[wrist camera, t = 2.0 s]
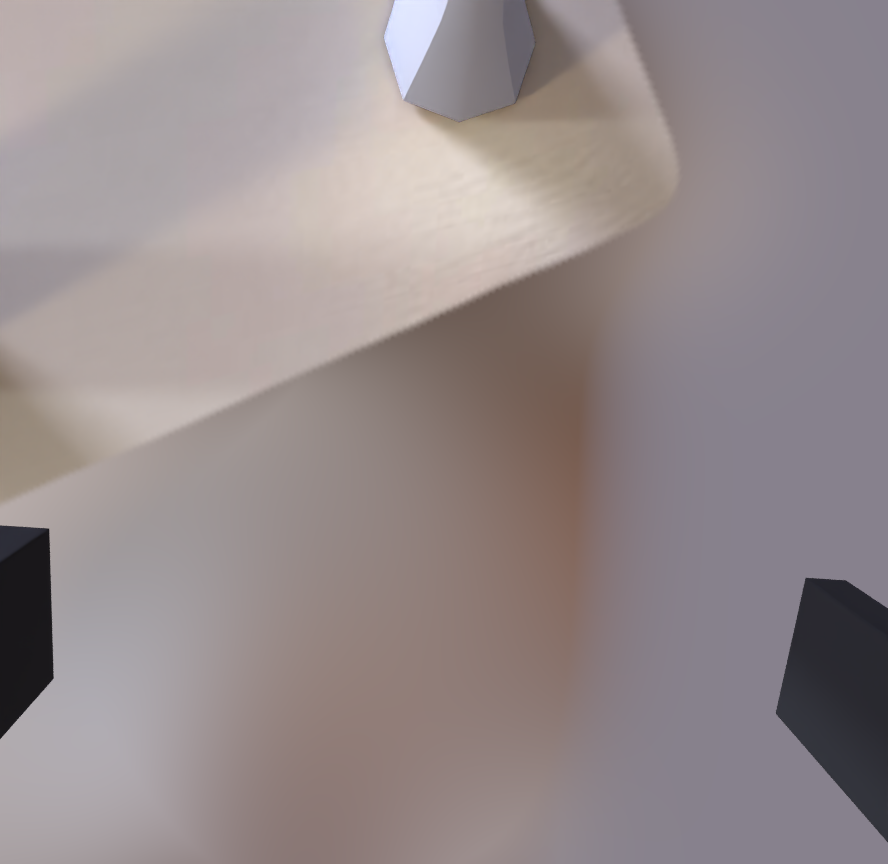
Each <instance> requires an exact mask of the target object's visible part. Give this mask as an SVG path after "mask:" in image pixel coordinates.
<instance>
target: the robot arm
mask: <svg viewBox="0 0 888 864" xmlns="http://www.w3.org/2000/svg"><path fill="white" fill-rule="evenodd" d="M52 644H53V643H52V611H51V576H50V543H49V529H46V528H31V527H15V526H0V739H1V738H2V736H3V735H4V734H5V733H6V732H7V731H8V730H9V729H10V727H11V726H12V725H13V724H14V723H15V722H16V721H17V719H18V718H19V717H20V716H21V715H22V714H23V713H24V711H25V710H26V709H27V708H28V707H29V706H30V704H32V702H33V701H34V700H35V699H36V698H37V697H38V696H39V695H40V693H41V692H42V691H43V690H44V689H45V688H46V687H47V685H48V684H49V683H50V682H51V681H52V680H53V678H54V677H53V645H52ZM776 714H777V715H778V717H779V718H780V719H781V720H782V721H783V722H784V723H785V725H786V726H787V727H788V728H789V729H790V730H791V732H792V733H793V734H794V735H795V736H796V737H797V738H798V740H799V741H800V742H801V743H802V744H803V745H804V746H805V748H806V749H807V750H808V751H809V752H810V753H811V755H813V757H814V758H815V759H816V760H817V761H818V763H819V764H820V765H821V766H822V767H823V768H824V769H825V771H826V772H827V773H828V774H829V775H830V776H831V778H832V779H833V780H834V781H835V782H836V783H837V784H838V786H839V787H840V788H841V789H842V790H843V791H844V792H845V794H846V795H847V796H848V797H849V798H850V799H851V801H852V802H854V804H855V805H856V806H857V807H858V809H860V811H861V812H862V813H863V814H864V815H865V817H866V818H867V819H868V820H869V821H870V822H871V824H872V825H873V826H874V827H875V828H876V829H877V830H878V832H879V833H880V834H881V835H882V836H883V837H884V838H885V840H886V841H887V842H888V608H886V607H885V606H883V605H882V604H880V603H879V602H877V601H876V600H874V599H872V598H871V597H870V596H868V595H867V594H865V593H864V592H862V591H861V590H859V589H858V588H856V587H855V586H853V585H852V584H850V583H849V582H847V581H845V580H829V579H814V578H806V579H805V584H804V588H803V593H802V597H801V602H800V606H799V611H798V615H797V620H796V624H795V629H794V633H793V638H792V642H791V647H790V652H789V656H788V660H787V665H786V669H785V674H784V679H783V683H782V688H781V692H780V697H779V701H778V706H777V710H776Z"/></svg>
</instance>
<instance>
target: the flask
mask: <svg viewBox="0 0 888 864" xmlns="http://www.w3.org/2000/svg"><path fill="white" fill-rule="evenodd" d="M384 40H385V43H386V46H387V49H388V53H389V56H390V59H391V62H392V66H393V69H394V72H395V75H396V79H397V82H398V85H399V88H400V92H401V95H402V98H403V101H406V102H409V103H411V104H414V105H416V106H419V107H422V108H424V109H427V110H429V111H432V112H434V113H437V114H440V115H442V116H445V117H447V118H450V119H453V120H455V121H458V122H461V121H464V120H467V119H470V118H473V117H476V116H479V115H482V114H485V113H488V112H491V111H494V110H497V109H500V108H503V107H506V106H509V105H512V104H515V102H516V99H517V96H518V93H519V90H520V87H521V84H522V82H523V79H524V76H525V73H526V70H527V67H528V64H529V61H530V58H531V55H532V52H533V49H534V46H535V43H536V42H535V38H534V34H533V30H532V26H531V23H530V19H529V15H528V11H527V7H526V4H525V0H395V2H394V5H393V9H392V12H391V16H390V19H389V22H388V26H387V29H386V32H385V36H384Z"/></svg>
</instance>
